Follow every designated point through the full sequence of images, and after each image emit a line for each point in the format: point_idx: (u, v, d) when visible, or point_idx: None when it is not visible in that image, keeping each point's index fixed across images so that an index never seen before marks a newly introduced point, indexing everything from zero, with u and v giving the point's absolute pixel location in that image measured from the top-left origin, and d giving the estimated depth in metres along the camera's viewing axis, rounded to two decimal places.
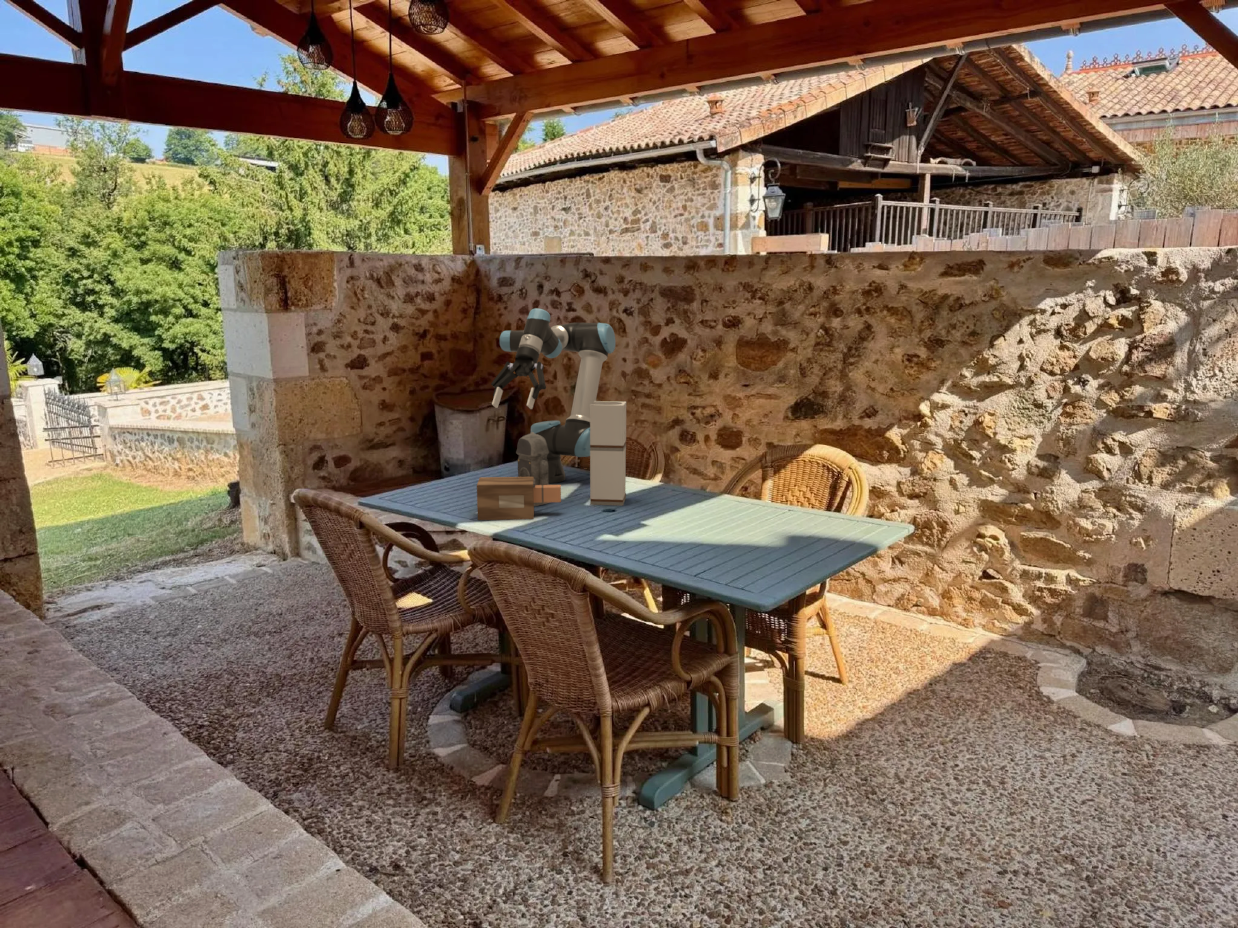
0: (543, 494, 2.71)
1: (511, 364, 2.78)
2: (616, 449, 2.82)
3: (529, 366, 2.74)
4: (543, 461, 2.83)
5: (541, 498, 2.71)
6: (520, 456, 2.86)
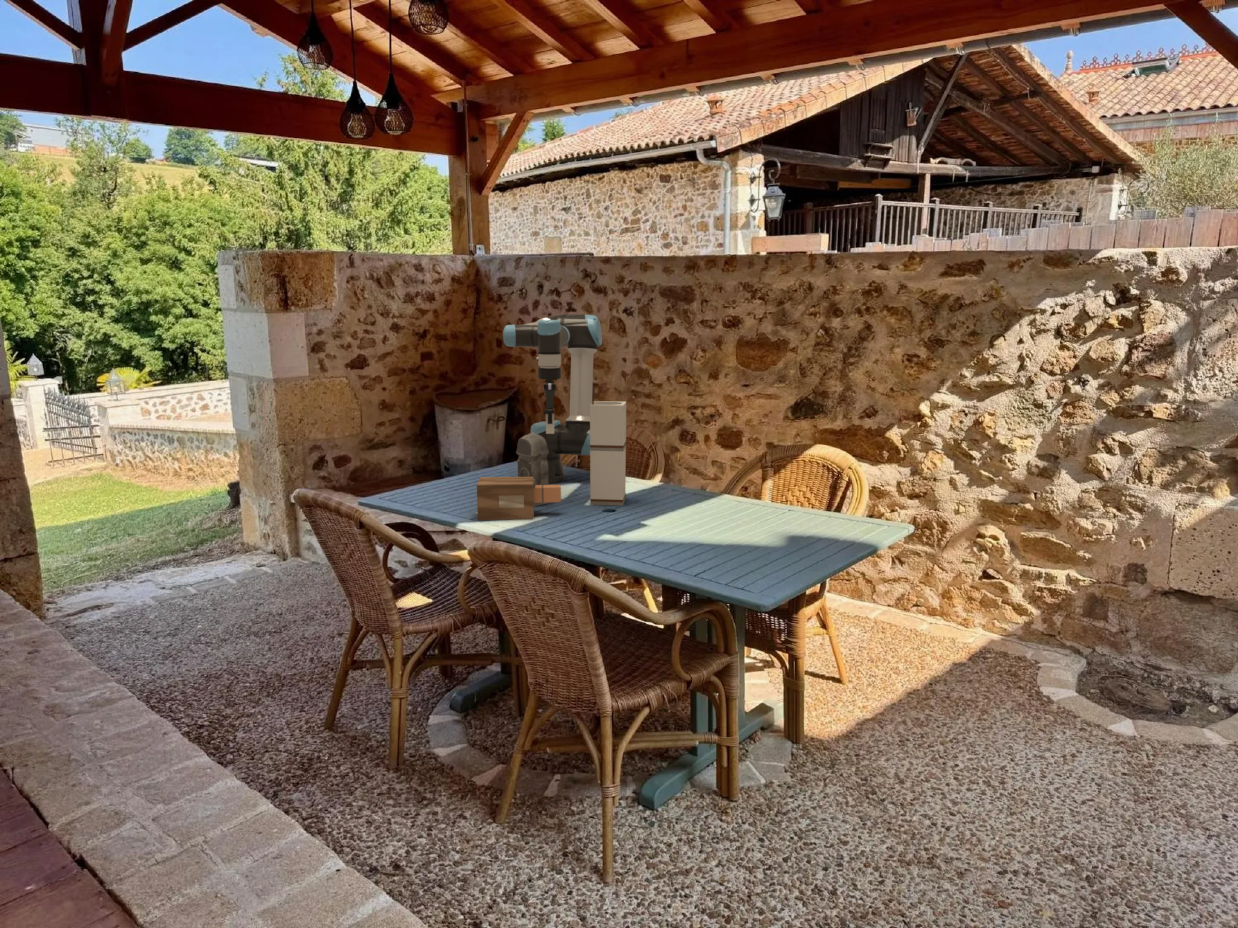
0: (543, 494, 2.71)
1: None
2: (616, 449, 2.82)
3: (546, 387, 2.71)
4: (543, 461, 2.83)
5: (541, 498, 2.71)
6: (520, 456, 2.86)
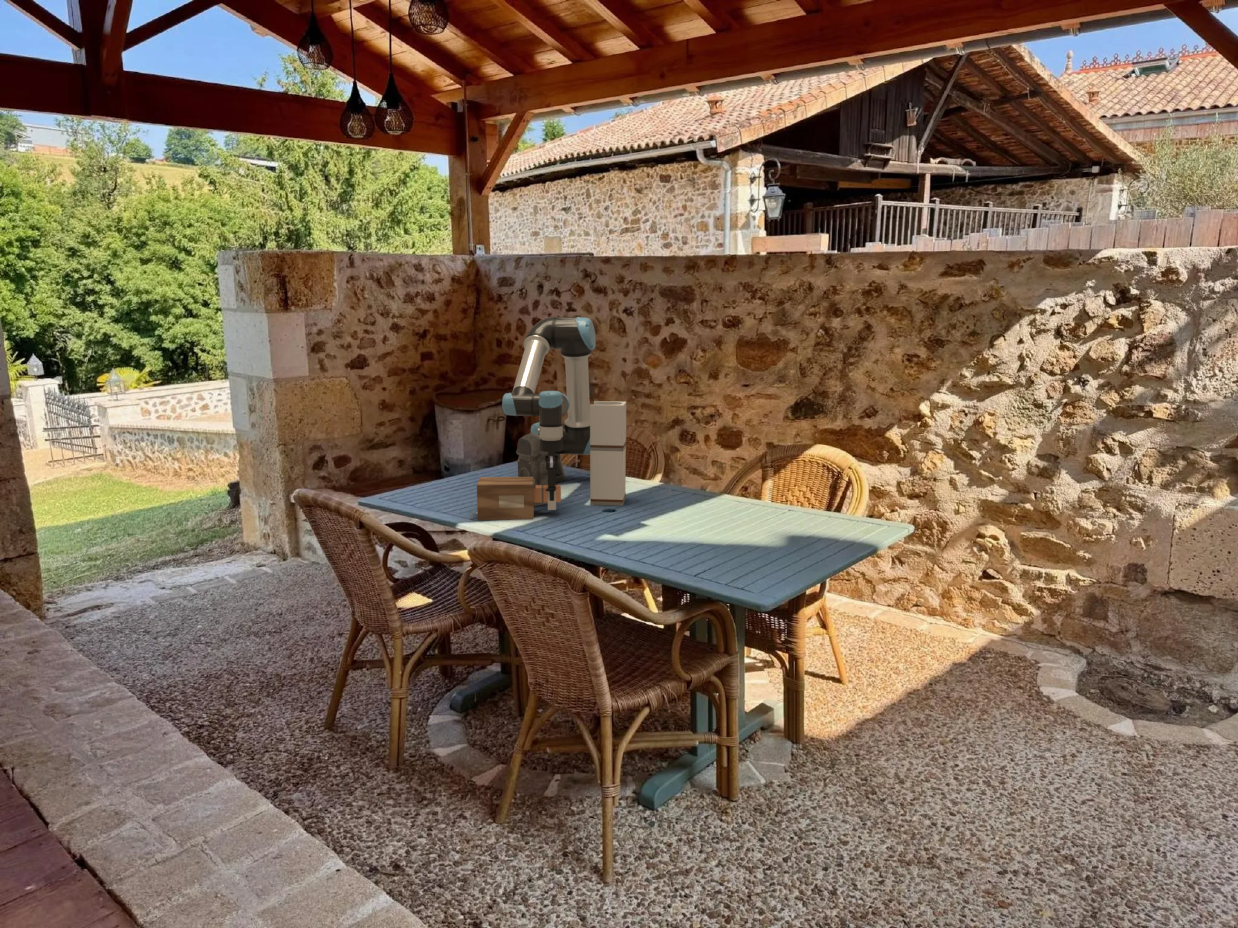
0: (543, 494, 2.71)
1: None
2: (616, 449, 2.82)
3: (547, 460, 2.68)
4: (543, 461, 2.83)
5: (541, 498, 2.71)
6: (520, 456, 2.86)
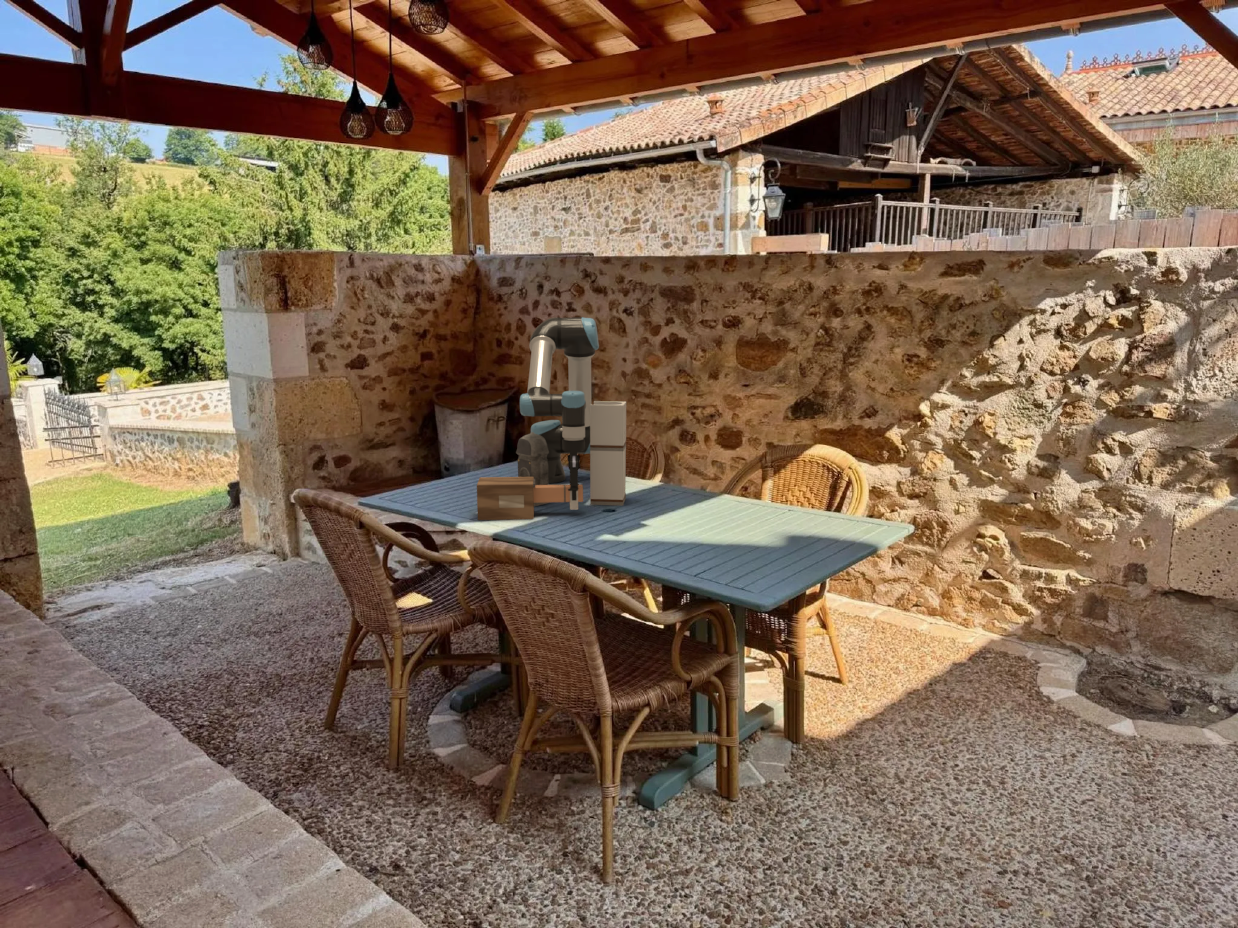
0: (565, 494, 2.72)
1: None
2: (616, 449, 2.82)
3: (570, 460, 2.69)
4: (543, 461, 2.83)
5: (563, 498, 2.72)
6: (520, 456, 2.86)
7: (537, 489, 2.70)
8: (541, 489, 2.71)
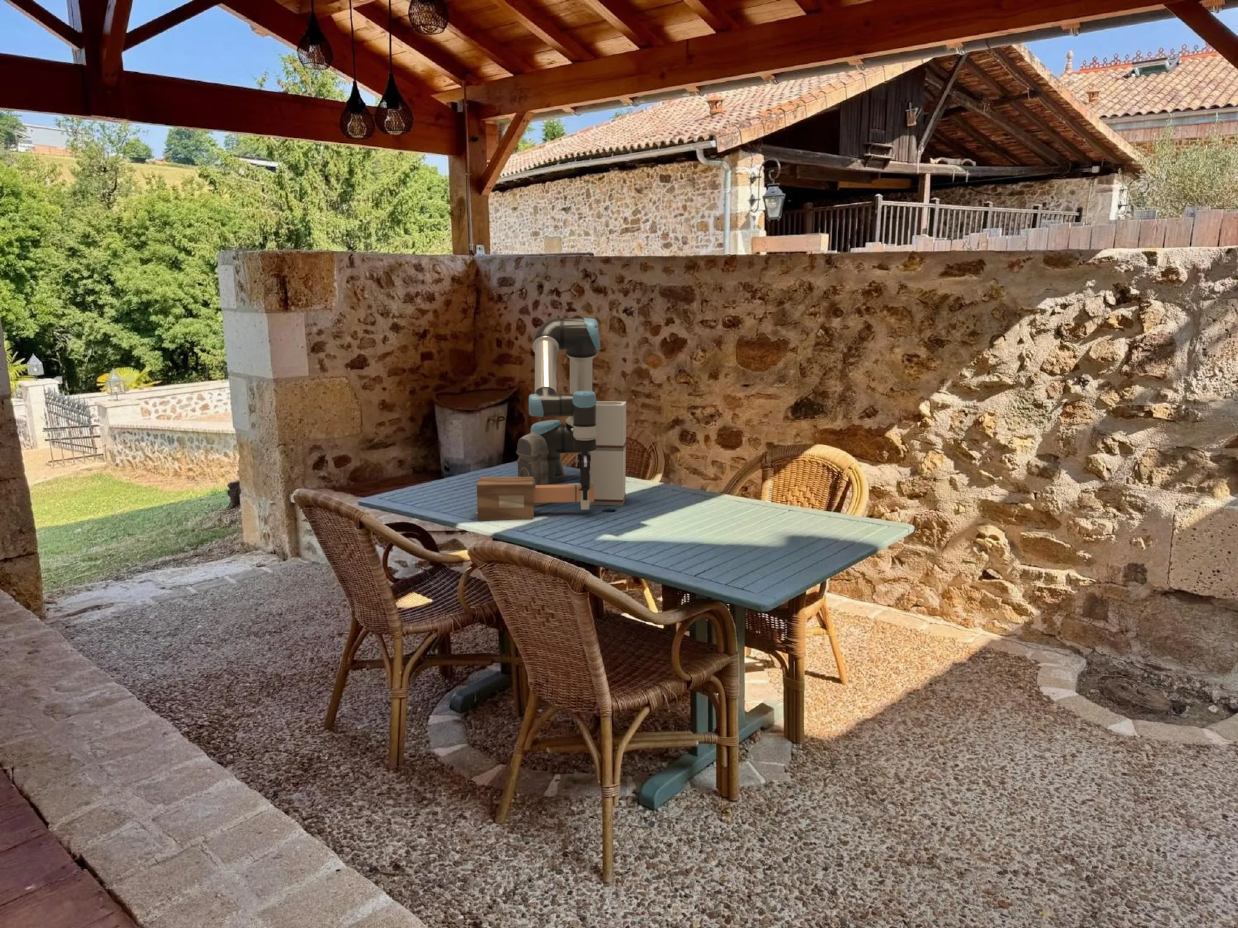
0: (576, 493, 2.72)
1: None
2: (616, 449, 2.82)
3: (581, 459, 2.69)
4: (543, 461, 2.83)
5: (574, 497, 2.72)
6: (520, 456, 2.86)
7: (548, 489, 2.71)
8: (552, 489, 2.71)
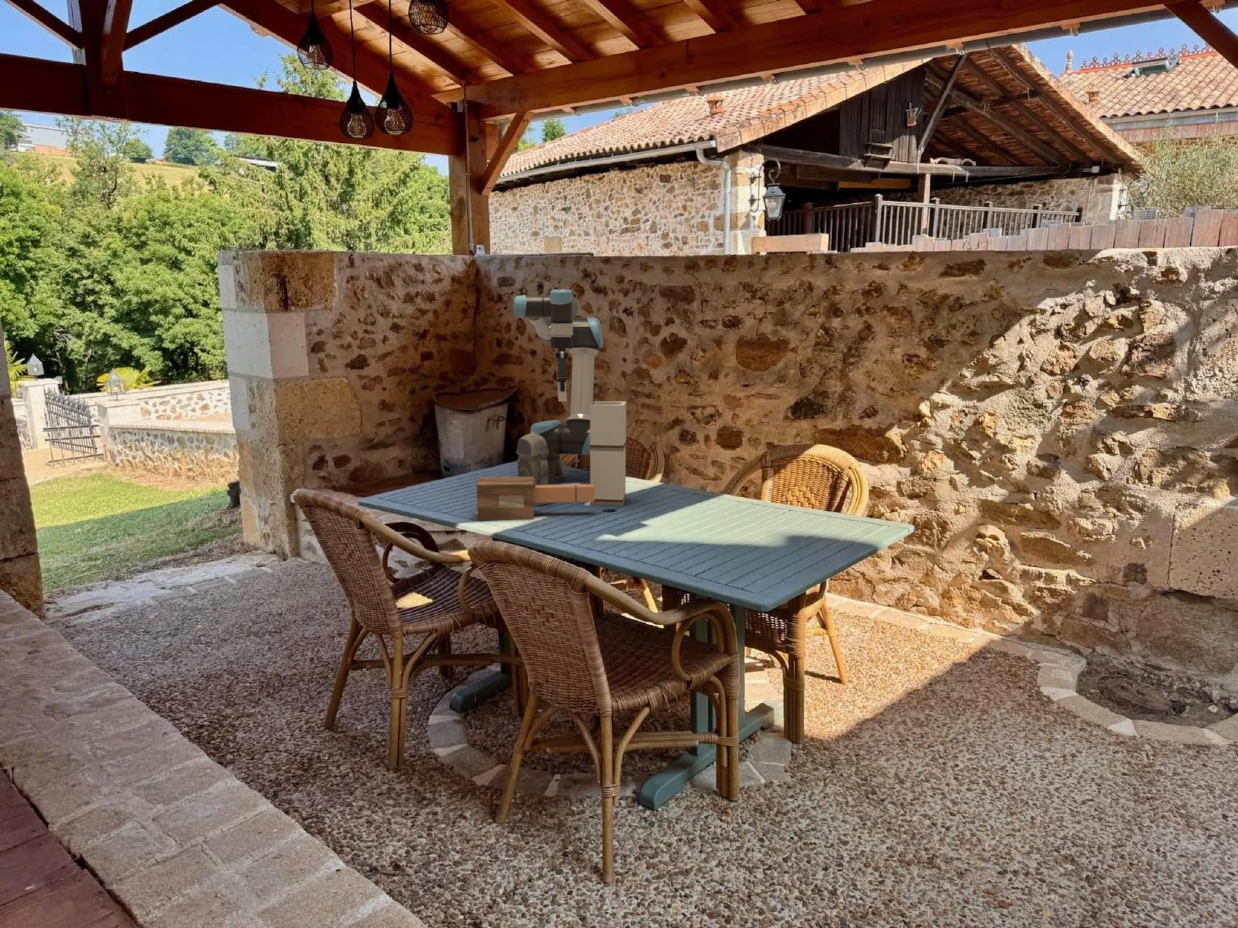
0: (576, 493, 2.72)
1: None
2: (616, 449, 2.82)
3: (558, 356, 2.76)
4: (543, 461, 2.83)
5: (574, 497, 2.72)
6: (520, 456, 2.86)
7: (548, 489, 2.71)
8: (552, 489, 2.71)
